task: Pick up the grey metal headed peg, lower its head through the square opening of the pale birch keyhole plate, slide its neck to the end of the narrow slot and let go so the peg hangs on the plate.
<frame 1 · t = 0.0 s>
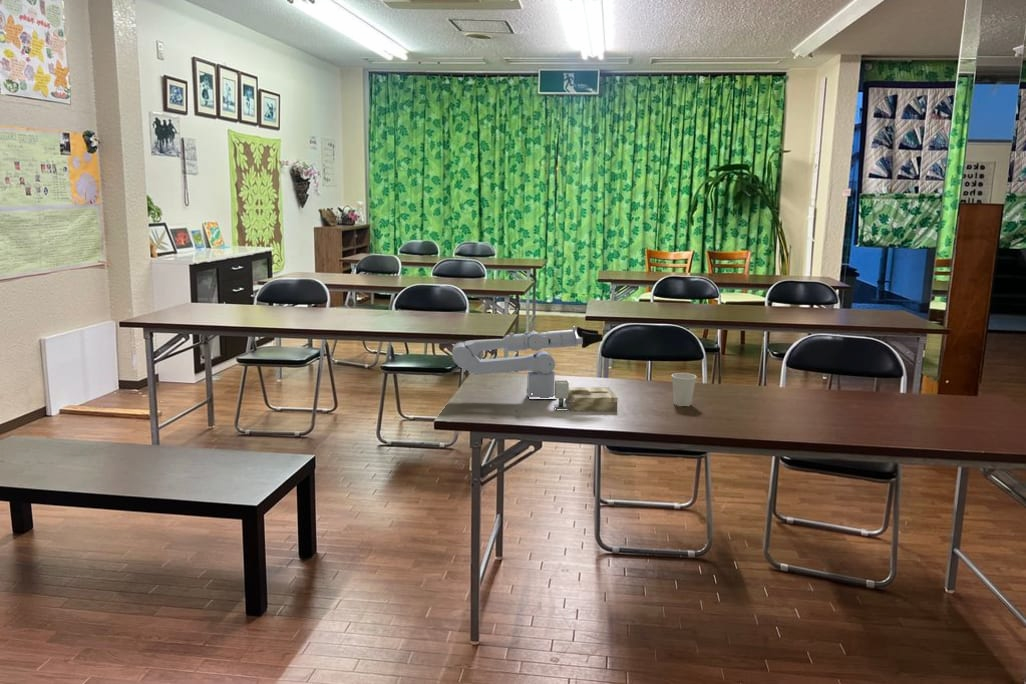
hand: (600, 335, 265), 22 cm above the table, tool horizontal, fingers open, 7 cm apart
dixie cup: (682, 405, 262), on the table
headed peg: (560, 408, 253), on the table
keyhole plate: (590, 405, 258), on the table
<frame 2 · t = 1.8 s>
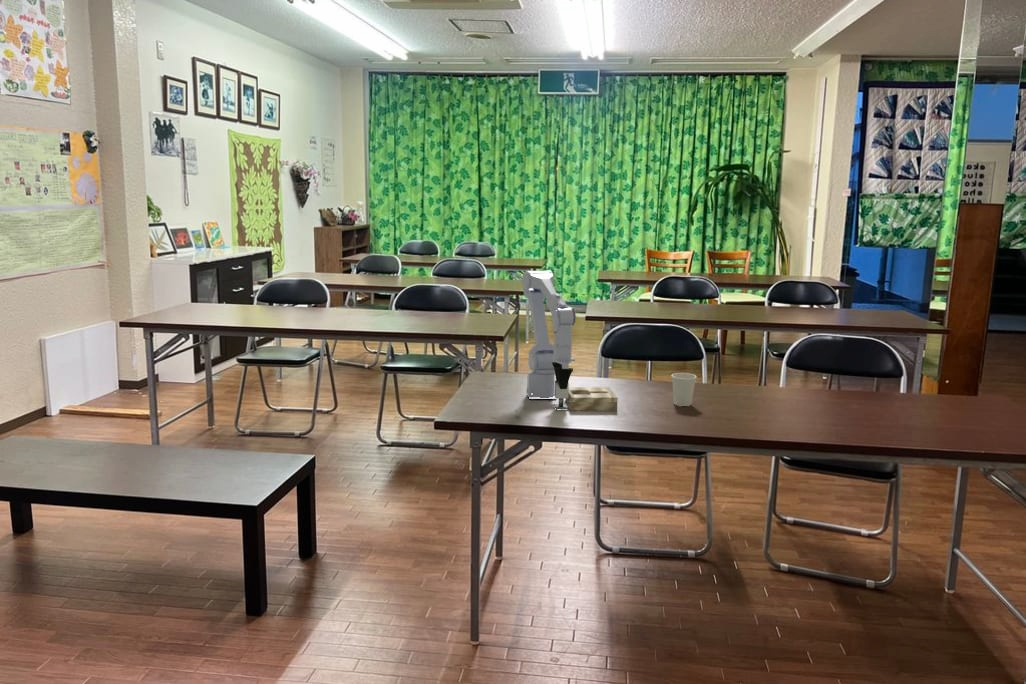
hand: (561, 386, 252), 8 cm above the table, tool pointing down, fingers open, 7 cm apart
nothing on the table moved.
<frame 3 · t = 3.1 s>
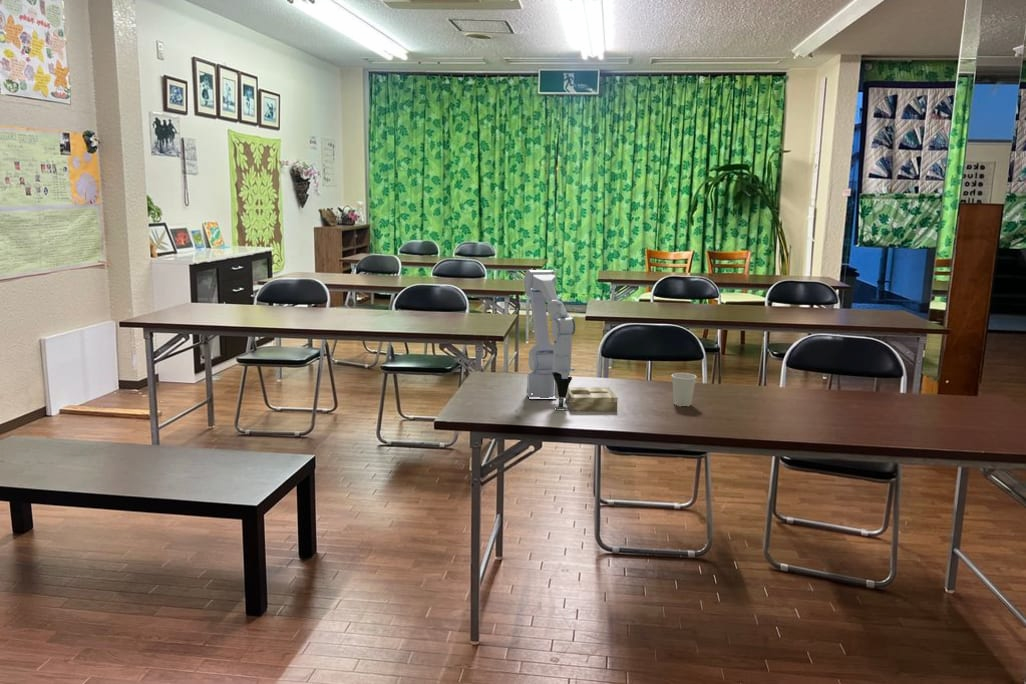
hand: (561, 395, 253), 4 cm above the table, tool pointing down, fingers closed on headed peg, 4 cm apart
headed peg: (560, 408, 253), on the table, touching gripper
everything else where it was.
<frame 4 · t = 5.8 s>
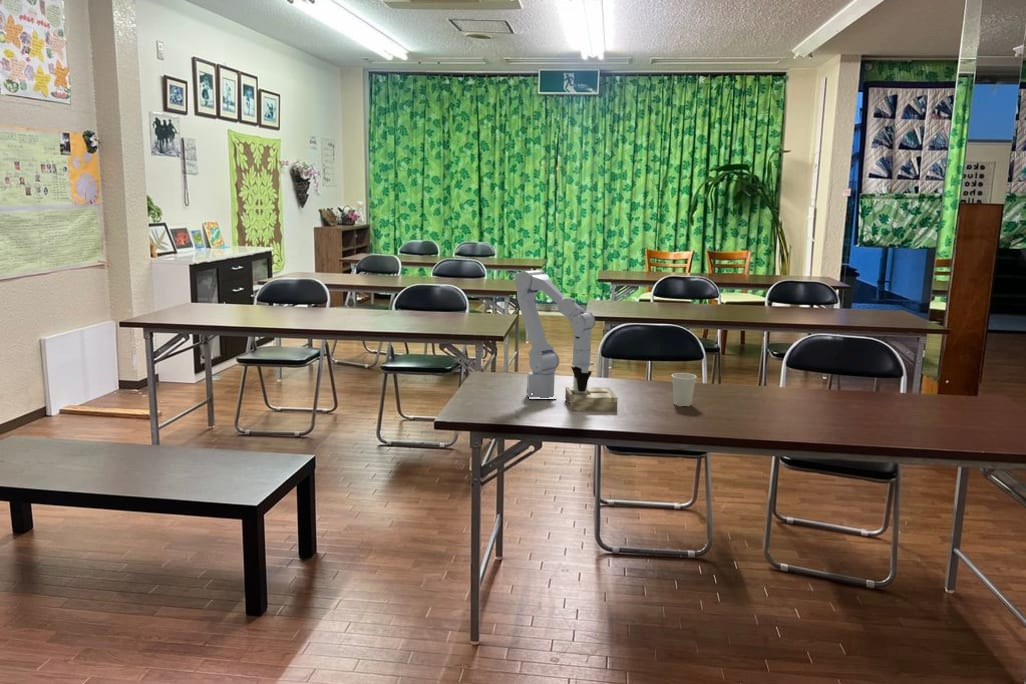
hand: (580, 389, 257), 5 cm above the table, tool pointing down, fingers closed on headed peg, 4 cm apart
headed peg: (579, 403, 258), point 1 cm above the table, touching gripper
everything else where it was.
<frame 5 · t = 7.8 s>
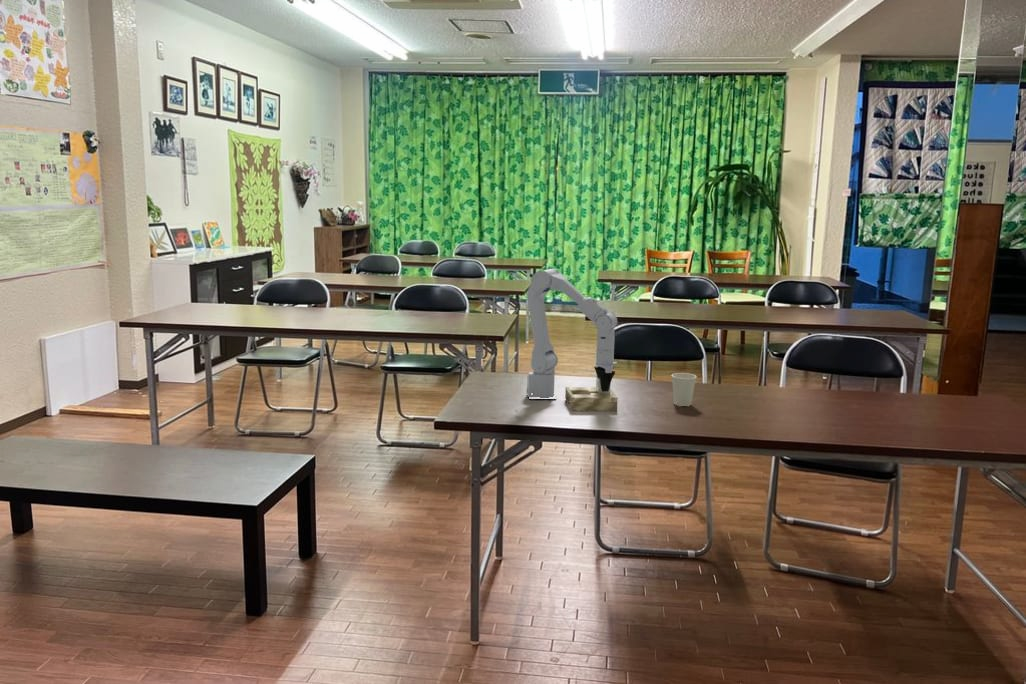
hand: (603, 389, 258), 5 cm above the table, tool pointing down, fingers closed on headed peg, 4 cm apart
headed peg: (602, 403, 258), point 1 cm above the table, touching gripper
everything else where it was.
when the fingers open (5 cm above the table, at t = 8.9 s): headed peg stays where it is, resting on keyhole plate.
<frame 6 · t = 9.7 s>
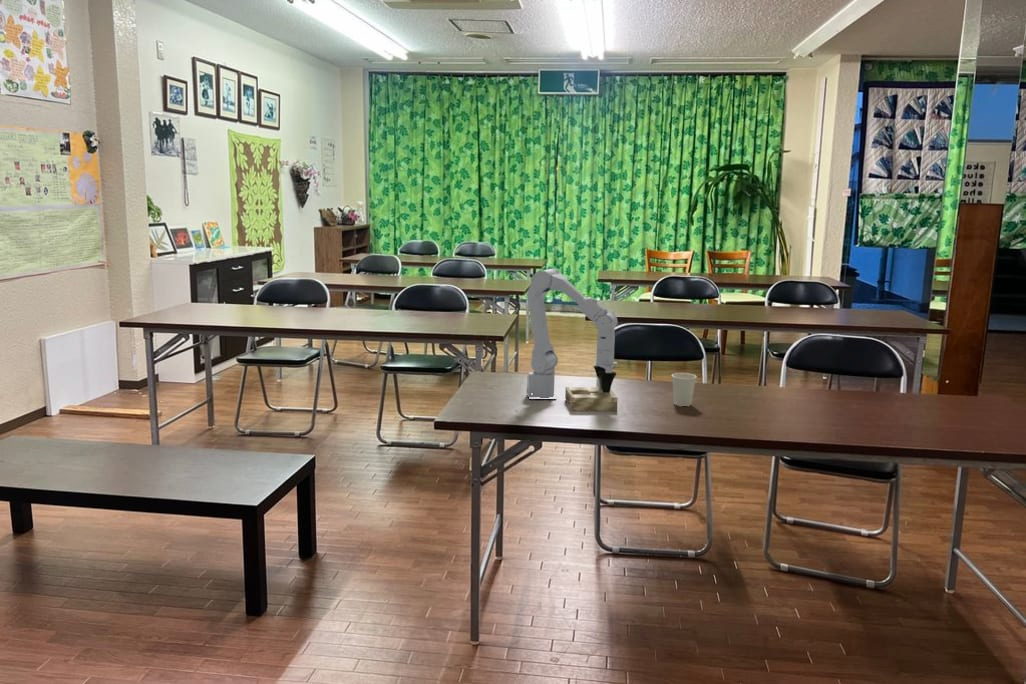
hand: (603, 389, 258), 5 cm above the table, tool pointing down, fingers open, 7 cm apart
headed peg: (602, 403, 258), resting on keyhole plate
everything else where it was.
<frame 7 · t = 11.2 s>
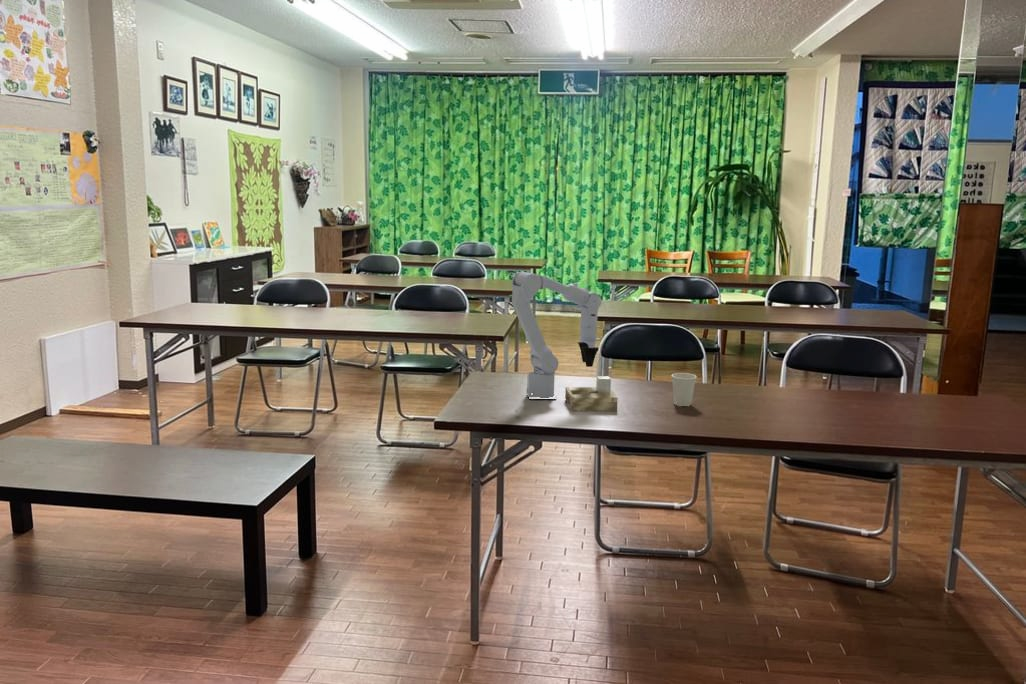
hand: (587, 364, 273), 10 cm above the table, tool pointing down, fingers open, 7 cm apart
nothing on the table moved.
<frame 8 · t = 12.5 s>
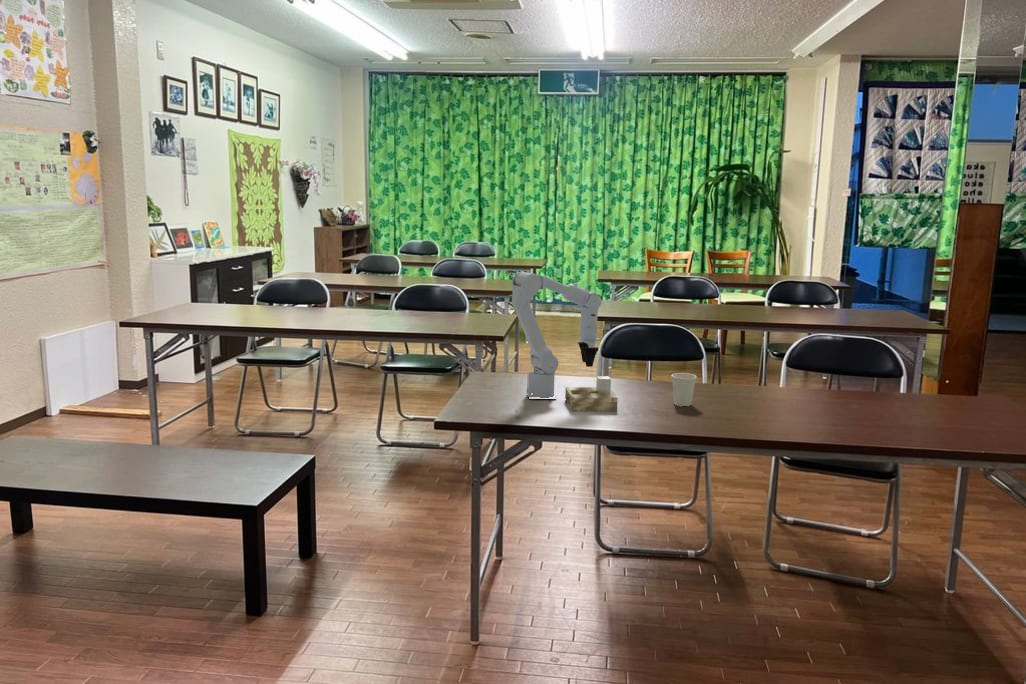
hand: (587, 364, 273), 10 cm above the table, tool pointing down, fingers open, 7 cm apart
nothing on the table moved.
at the end: headed peg 0.0 cm from the target spot on the keyhole plate, point 0.5 cm above the keyhole plate's base; headed peg tilted 0°; the gripper is holding nothing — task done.
